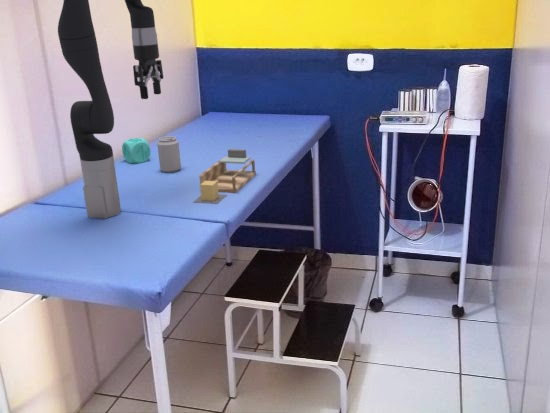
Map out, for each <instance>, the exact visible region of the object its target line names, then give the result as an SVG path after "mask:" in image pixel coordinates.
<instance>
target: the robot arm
mask: <svg viewBox="0 0 550 413" xmlns="http://www.w3.org/2000/svg"><path fill="white" fill-rule="evenodd" d="M124 3H125V5H126V8H127V10H128V13H129V17H130V25H131V26H130V27H131V40H132V43H131V44H132V50H133V58H134V60H136V61H138V64H137V65H135V64H134V65H133V66H132V68H133V78H134V80H133V81H134V85H135V86H138V88H139V92H140V98H141V100H148V99H149V90H148V82H149V81H150V79H151V81H152V87H153V88H152V89H153V94H154V95H160V94H162V89H161V82H162V80H163V79H164V72H163V63H162V60H161V59H159V58H160V53H159V52H160V51H159V43H158V34H157V29H156V22H155V15H154V14H155V13H154V10H153V8H152V7H150V6H146V5H144V4H143V1H142V0H124ZM57 36H58V40H59V44H60V48H61V53H62V56H63V57H64V60H65V61H66V63H67V64H68V65H69V66H70V68H71V69H72V70H73V71H74V73H75V74H77V76H78V77H79V78H80V80H81V81H82V82H83V84H85V86H86V88H87V90H88V92H89V96H90V98H91V100H79V101H75V102H73V103H72V104H71V108H70V114H69V115H70V124H71V129H72V134H73V137H74V143H75V146H76V151H77V153H78V156H79V160H80V167H81V173H82V180H83V185H84V186H83V187H82V190H83V196H84V203H85V209H86V214H87V215H86V216H87V218H89V219H102V220H103V219H105V220H106V219H107V218H111V217H114V216H117V215H120V214H121V212H122V208H121V207H122V206H121V202H120V201H121V200H120V193H119V187H118V180H117V179H118V178H117V172H116V166H115V158H114V151H113V148H112V146H111V144H109V143H107V142H104V141H102V140H100V139H98V138H97V137H96V136H95V135H105V134H107V135H108V134H109V133H111V132H112V131H113V129H114V126H115V116H114V110H113V107H112V106H113V105H112V102H111V99H110V94H109V93H108V88H107V84H106V81H105V78H104V73H103V69H102V64H101V59H100V54H99V48H98V41H97V36H96V31H95V27H94V24H93V18H92V13H91V9H90V2H89V0H63V4H62V8H61V12H60V16H59V18H58V24H57Z"/></svg>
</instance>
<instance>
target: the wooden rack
mask: <svg viewBox="0 0 550 413" xmlns="http://www.w3.org/2000/svg"><path fill="white" fill-rule="evenodd" d="M223 158H224V157H222V158H221V159H223ZM221 159H219V160H218V161H216V162H215V163H214V164H213V165H211V166H209V168H207V169H206V170H204V171H203V172H201V174H199V175H198V177H199V185H200V184H202V183H203V182H204V181H217V182H218V193H228V194H229V193H231V194H237V192H239V190H241V189H242V188H243V187H244V186H245V185H246V184H247V183H248V182H250V180H251V179H253V178H254V177H255V176H256V174H257V171H256V168H255V167H256V166H255V165H256V164H255V163H256V162H255V159H250V160H249V162H248V163H247V164H245V165H244V166H243V167H241V169H239V170H236V169H227V163H219V161H220V160H221ZM249 166H251V170H246V169H247V168H249ZM199 189H200V190H201V188H199Z"/></svg>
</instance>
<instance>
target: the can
mask: <svg viewBox="0 0 550 413" xmlns="http://www.w3.org/2000/svg"><path fill="white" fill-rule="evenodd" d="M156 146H157V153H158V161H159V168H160V170H161V171H162V172H163V173H168V174H169V173H170V174H171V173H176V172H178V171H179V170H180V169H181V168H182V163H181V162H182V161H181V154H180V152H181V151H180V142H179V140H178V139H177V137H176V136H173V135H172V136H171V135H170V136H169V135H168V136H167V135H166V136H162V137H159V138H158V142H157V144H156Z"/></svg>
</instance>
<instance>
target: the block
mask: <svg viewBox="0 0 550 413" xmlns="http://www.w3.org/2000/svg"><path fill="white" fill-rule="evenodd" d="M199 186H200V188H201V189H200V188H199V189H200V196H201V199H202V200H206V201H214V200H215V199H217V198H218V197H219V194H220V193H219V192H218V182H217V181H204V182H203V183H202V184H200V183H199Z"/></svg>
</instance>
